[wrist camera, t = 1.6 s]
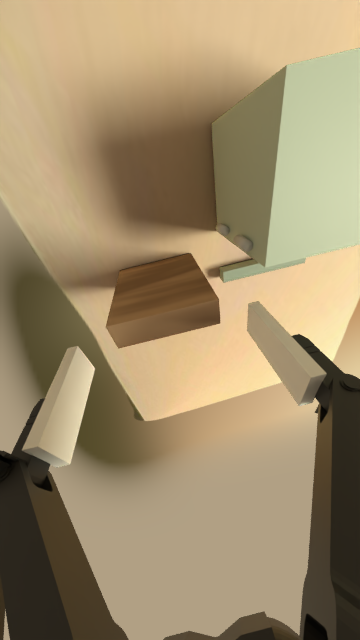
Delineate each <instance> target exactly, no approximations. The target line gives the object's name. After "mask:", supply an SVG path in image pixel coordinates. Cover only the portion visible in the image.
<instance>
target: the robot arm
mask: <svg viewBox="0 0 360 640" xmlns="http://www.w3.org/2000/svg"><path fill="white" fill-rule="evenodd" d="M247 331H248V333H249V334H250V336H251V337H252V338H253V340H254V341H255V343H256V344H257V346H258V347H259V349H260V350H261V352H262V353H263V354H264V356H265V357H266V359H267V360H268V362H269V363H270V365H271V366H272V368H273V369H274V370H275V372H276V373H277V375H278V376H279V378H280V379H281V381H282V382H283V384H284V385H285V386H286V388H287V389H288V391H289V392H290V394H291V395H292V396H293V398H294V400H295V401H296V402H297V404H298V405H299V406H302V405H306V404H309V403H312V402H313V400H314V398H316V399H317V400H318V402H319V405H318V407H317V409H316V411H315V413H318V423H317V438H316V453H315V469H314V484H313V499H312V514H311V529H310V545H309V560H308V570H307V575H306V578H305V582H304V587H303V596H302V610H301V623H300V624H301V625H300V636H299V635H298V634H297V633H295V632H294V631H293V630H292V629H291V628H290V627H288V626H287V625H285V624H284V623H282V622H280V621H278V620H276V619H273V618H269V617H266V614H265V612H261V613H256V614H253V615H249V616H245V617H241V618H239V619H238V620H237V621H236V622H235V623H233V625H231V626H230V627H229V628H228V629H227V630H225V632H223V633H222V634H221V635H220V636H218V637H211V636H207V635H203V634H199V633H195V632H191V631H188V632H184V633H180V634H176V635H172V636H169V637H166V638H164V640H360V379H359V378H357V377H355V376H353V375H350V374H345V373H343V372H342V371H341V370H340V369H339V368H338V367H337V366H336V365H335V364H334V363H333V362H332V361H331V360H330V359H328V358H327V357H326V356H325V355H324V354H323V353H322V352H320V350H319V349H318V348H317V347H316V346H315V345H314V344H313V343H312V342H311V341H310V340H309V339H307V338H306V337H304V336H302V335H300V334H298V335H294V336H291V335H290V334H289V333H288V332H287V331H286V330H285V329H284V328H283V327H282V326H281V325H280V324H279V323H278V322H277V320H276V319H275V318H274V317H273V316H272V315H271V314H270V313H269V312H268V311H267V310H266V309H265V308H264V307H263V306H262V305H261V304H260V303H259V301H257V302H253V303H249V304H248V322H247ZM94 370H95V368H94V367H93V365H92V364H91V363H90V361H89V360H88V359H87V357H86V356H85V355H84V354H83V352H82V351H81V349H80V348H79V347H78V346H76V347H72V348H68V349H67V351H66V354H65V356H64V358H63V360H62V362H61V365H60V367H59V369H58V371H57V373H56V376H55V378H54V380H53V382H52V385H51V387H50V389H49V391H48V393H47V396H46V398H44V399H40V401H39V402H38V403H37V404H36V406H35V407H34V408H33V410H32V412H31V414H30V417H29V419H28V421H27V423H26V426H25V427H24V429H23V431H22V433H21V435H20V437H19V439H18V441H17V443H16V445H15V447H14V450H13V452H12V454H9V453H7V452H5V451H0V640H3V635H4V618H5V609H6V616H7V622H8V629H9V636H10V640H128V638H127V636H126V634H125V632H124V631H123V630H122V628H120V627H119V626H118V625H117V624H116V623H115V622H114V620H113V619H112V617H111V615H110V612H109V610H108V608H107V605H106V603H105V600H104V598H103V596H102V593H101V591H100V589H99V587H98V584H97V582H96V579H95V577H94V574H93V572H92V570H91V567H90V565H89V562H88V560H87V558H86V555H85V553H84V551H83V548H82V546H81V544H80V541H79V539H78V536H77V534H76V532H75V529H74V527H73V525H72V522H71V520H70V517H69V515H68V512H67V510H66V508H65V505H64V503H63V501H62V498H61V496H60V493H59V491H58V489H57V486H56V484H55V482H54V479H53V477H52V474H51V473H50V472H49V471H48V470H49V466H50V465H53V466H55V467H60V466H65V465H69V464H70V463H71V459H72V455H73V451H74V448H75V444H76V440H77V436H78V432H79V428H80V424H81V420H82V416H83V413H84V409H85V405H86V401H87V397H88V394H89V389H90V386H91V382H92V378H93V374H94Z"/></svg>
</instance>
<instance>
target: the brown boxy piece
mask: <svg viewBox="0 0 360 640" xmlns="http://www.w3.org/2000/svg"><path fill="white" fill-rule="evenodd" d="M216 324H220V310H219V299H218V297H217V295H216V294H215V292H214V290H213V289H212V287H211V286H210V284H209V282H208V281H207V279H206V277H205V276H204V274H203V272H202V271H201V269H200V268H199V266H198V264H197V263H196V261H195V259H194V258H193V256H192V255H191V253H190V254H186V255H182V256H177V257H173V258H169V259H165V260H161V261H157V262H153V263H149V264H145V265H141V266H136V267H132V268H128V269H124V270H120V272H119V276H118V280H117V284H116V288H115V292H114V296H113V300H112V304H111V308H110V312H109V316H108V320H107V324H106V328H107V330H108V332H109V333H110V335H111V337H112V338H113V340H114V342H115V344H116V345H117V347H118V348H122V347H126V346H130V345H135V344H139V343H143V342H147V341H151V340H155V339H159V338H163V337H167V336H171V335H175V334H179V333H183V332H187V331H191V330H195V329H199V328H204V327H208V326H212V325H216Z"/></svg>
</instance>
